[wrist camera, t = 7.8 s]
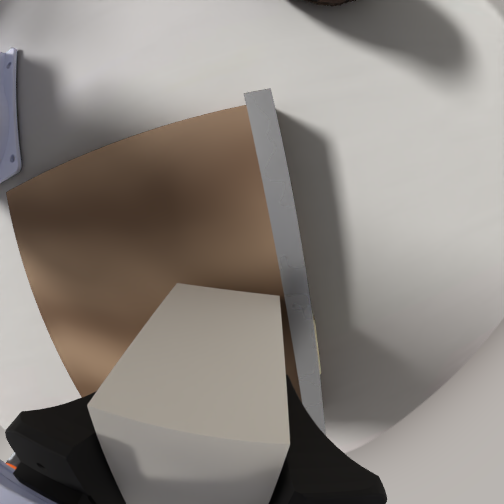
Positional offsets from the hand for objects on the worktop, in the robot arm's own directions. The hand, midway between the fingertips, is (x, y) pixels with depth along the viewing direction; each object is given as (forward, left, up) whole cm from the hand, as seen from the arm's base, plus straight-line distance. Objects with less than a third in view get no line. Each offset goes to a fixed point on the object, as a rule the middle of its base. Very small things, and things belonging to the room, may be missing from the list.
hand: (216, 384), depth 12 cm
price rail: (-2, +4, -3) cm, 5 cm away
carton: (0, 0, -2) cm, 2 cm away
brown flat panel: (-2, -4, -4) cm, 6 cm away
